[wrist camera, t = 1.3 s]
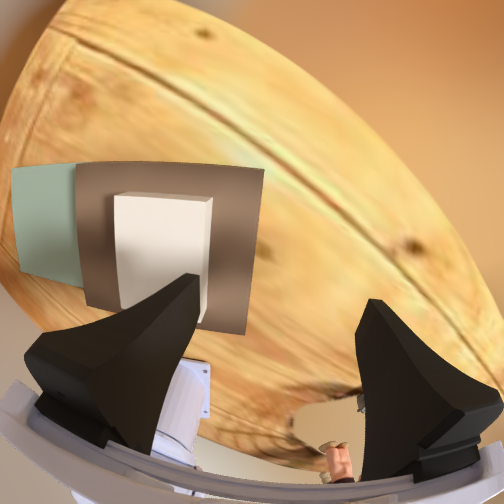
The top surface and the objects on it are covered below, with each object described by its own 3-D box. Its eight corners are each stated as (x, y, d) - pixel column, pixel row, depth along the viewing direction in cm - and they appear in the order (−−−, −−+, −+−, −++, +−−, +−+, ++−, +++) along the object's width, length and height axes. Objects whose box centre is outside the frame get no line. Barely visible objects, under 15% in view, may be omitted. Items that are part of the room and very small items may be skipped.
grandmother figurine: (308, 451, 30) (313, 525, 18) (318, 439, 29) (327, 518, 17) (353, 452, 31) (366, 518, 19) (366, 439, 29) (382, 510, 17)
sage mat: (101, 290, 23) (99, 291, 23) (22, 270, 23) (20, 271, 23) (95, 161, 19) (93, 162, 19) (13, 168, 19) (11, 168, 19)
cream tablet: (206, 308, 20) (200, 323, 18) (132, 295, 20) (121, 308, 18) (212, 197, 17) (206, 201, 15) (128, 191, 17) (114, 195, 15)
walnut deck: (247, 314, 23) (244, 335, 20) (102, 290, 23) (86, 305, 20) (264, 169, 19) (263, 170, 16) (96, 161, 19) (75, 163, 16)
